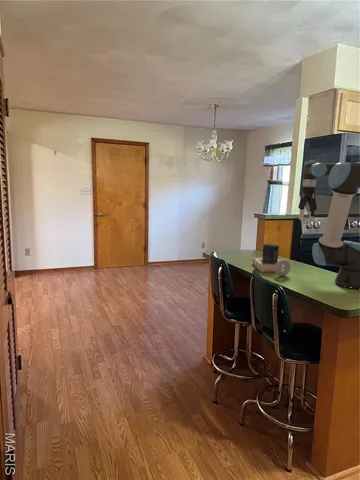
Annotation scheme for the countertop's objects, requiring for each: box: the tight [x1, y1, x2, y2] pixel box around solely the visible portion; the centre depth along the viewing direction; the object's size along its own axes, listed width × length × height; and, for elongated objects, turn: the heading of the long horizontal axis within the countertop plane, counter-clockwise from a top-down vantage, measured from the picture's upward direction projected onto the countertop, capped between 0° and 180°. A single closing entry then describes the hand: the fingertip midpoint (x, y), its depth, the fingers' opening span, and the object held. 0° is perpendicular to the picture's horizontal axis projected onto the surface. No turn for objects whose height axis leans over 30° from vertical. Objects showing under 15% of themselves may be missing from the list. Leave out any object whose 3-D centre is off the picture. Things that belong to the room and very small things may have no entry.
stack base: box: [252, 257, 284, 273], centre depth 205 cm, size 20×16×4 cm
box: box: [261, 243, 280, 263], centre depth 204 cm, size 8×6×11 cm
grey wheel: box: [274, 258, 291, 277], centre depth 187 cm, size 10×4×10 cm, turn 109°
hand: (306, 220), depth 205 cm, fingers open, 13 cm apart
